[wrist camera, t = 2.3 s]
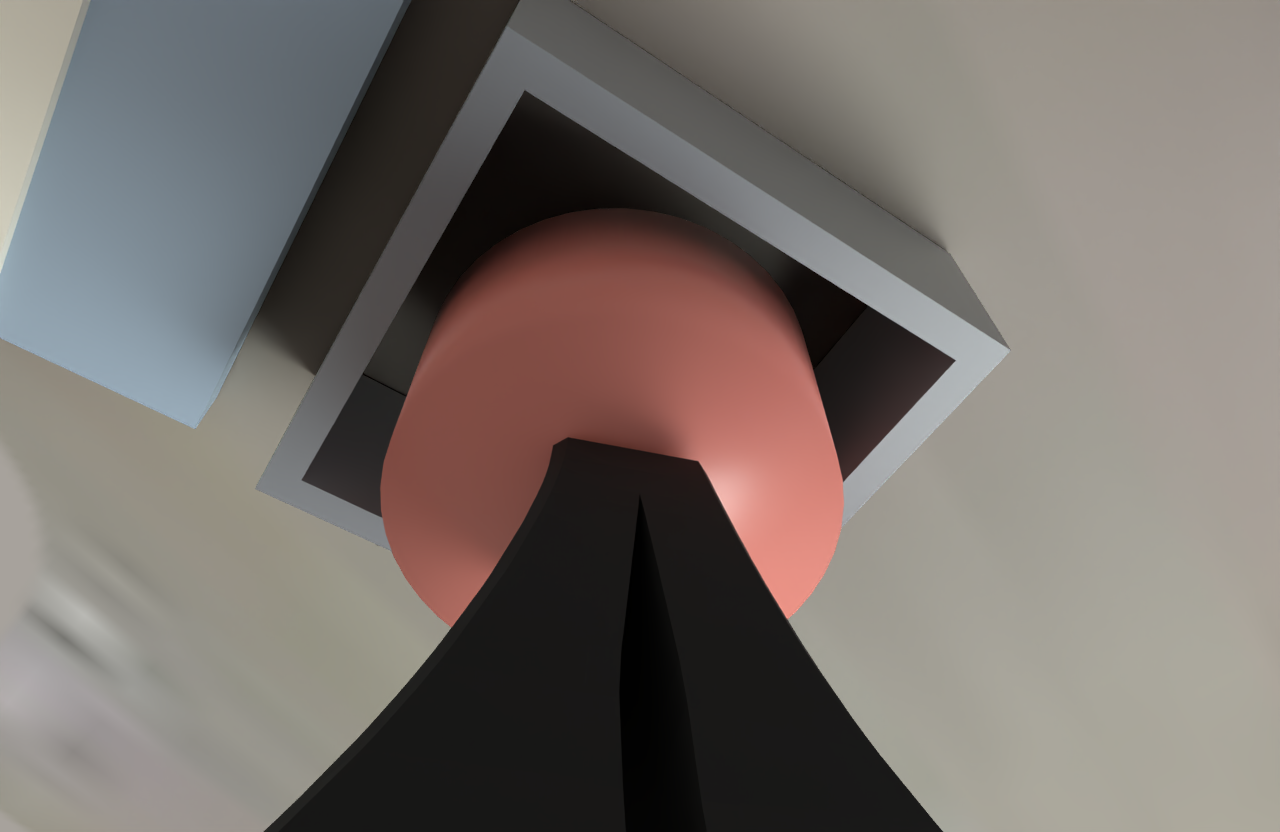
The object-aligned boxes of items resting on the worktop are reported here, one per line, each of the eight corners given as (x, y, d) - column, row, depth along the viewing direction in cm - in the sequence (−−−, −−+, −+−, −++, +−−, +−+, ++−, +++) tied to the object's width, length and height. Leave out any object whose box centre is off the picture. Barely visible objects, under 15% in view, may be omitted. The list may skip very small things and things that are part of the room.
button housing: (949, 253, 13) (1010, 350, 11) (682, 562, 16) (689, 687, 13) (532, -25, 11) (506, 26, 9) (314, 377, 14) (255, 488, 12)
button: (888, 339, 11) (942, 462, 9) (670, 588, 13) (675, 734, 11) (546, 127, 10) (524, 217, 8) (361, 437, 12) (306, 572, 10)
